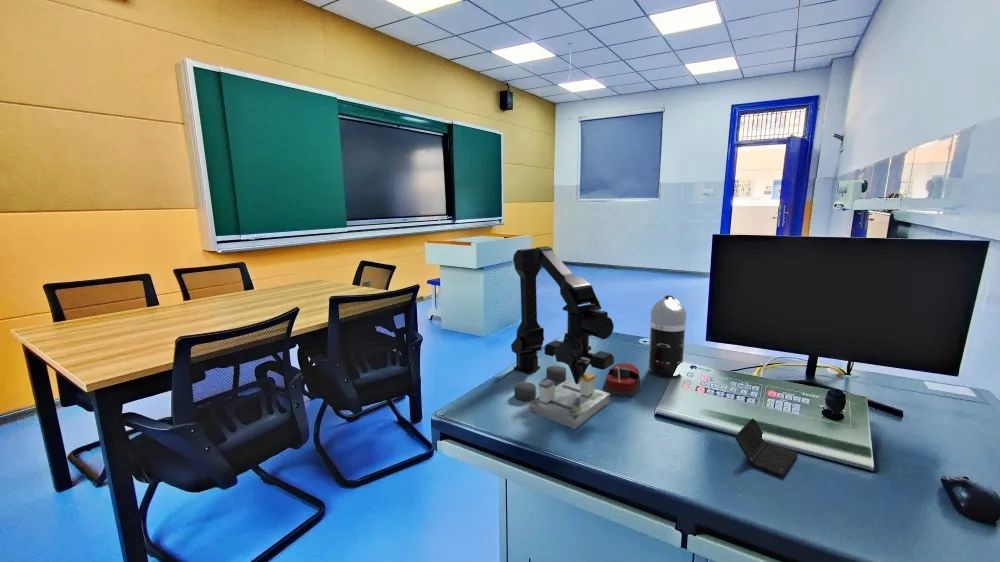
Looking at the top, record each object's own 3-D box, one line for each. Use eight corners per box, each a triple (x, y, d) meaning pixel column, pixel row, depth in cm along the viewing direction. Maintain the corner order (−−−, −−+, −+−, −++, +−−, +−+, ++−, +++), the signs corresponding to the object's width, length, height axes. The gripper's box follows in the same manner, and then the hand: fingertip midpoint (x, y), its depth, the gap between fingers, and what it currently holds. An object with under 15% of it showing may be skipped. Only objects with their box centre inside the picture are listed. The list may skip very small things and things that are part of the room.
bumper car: (643, 377, 132) (644, 346, 130) (635, 405, 114) (636, 370, 112) (611, 372, 136) (611, 342, 134) (598, 399, 118) (598, 365, 116)
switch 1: (539, 400, 112) (539, 383, 111) (547, 395, 115) (547, 378, 114) (546, 403, 110) (546, 385, 109) (554, 398, 113) (555, 381, 112)
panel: (528, 411, 112) (528, 402, 112) (566, 388, 125) (566, 379, 125) (574, 429, 103) (574, 419, 102) (609, 402, 116) (610, 393, 115)
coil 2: (542, 379, 131) (542, 370, 131) (553, 373, 136) (553, 364, 135) (558, 384, 127) (558, 375, 127) (569, 378, 132) (569, 369, 131)
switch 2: (579, 393, 115) (580, 377, 114) (586, 389, 118) (587, 372, 117) (587, 396, 113) (588, 379, 113) (594, 391, 116) (595, 375, 115)
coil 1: (510, 397, 120) (510, 387, 120) (523, 390, 125) (523, 380, 124) (527, 403, 116) (526, 393, 116) (540, 395, 121) (540, 386, 120)
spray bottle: (685, 370, 136) (690, 293, 131) (679, 381, 128) (684, 300, 123) (652, 364, 142) (655, 290, 137) (644, 374, 133) (647, 297, 128)
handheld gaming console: (796, 475, 82) (764, 425, 85) (759, 485, 86) (730, 437, 89) (800, 455, 91) (770, 411, 94) (766, 465, 95) (739, 422, 98)
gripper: (532, 330, 115) (532, 384, 117) (593, 344, 102) (592, 404, 105) (555, 320, 123) (555, 371, 126) (615, 332, 110) (614, 389, 113)
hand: (577, 383), depth 117 cm, fingers closed
